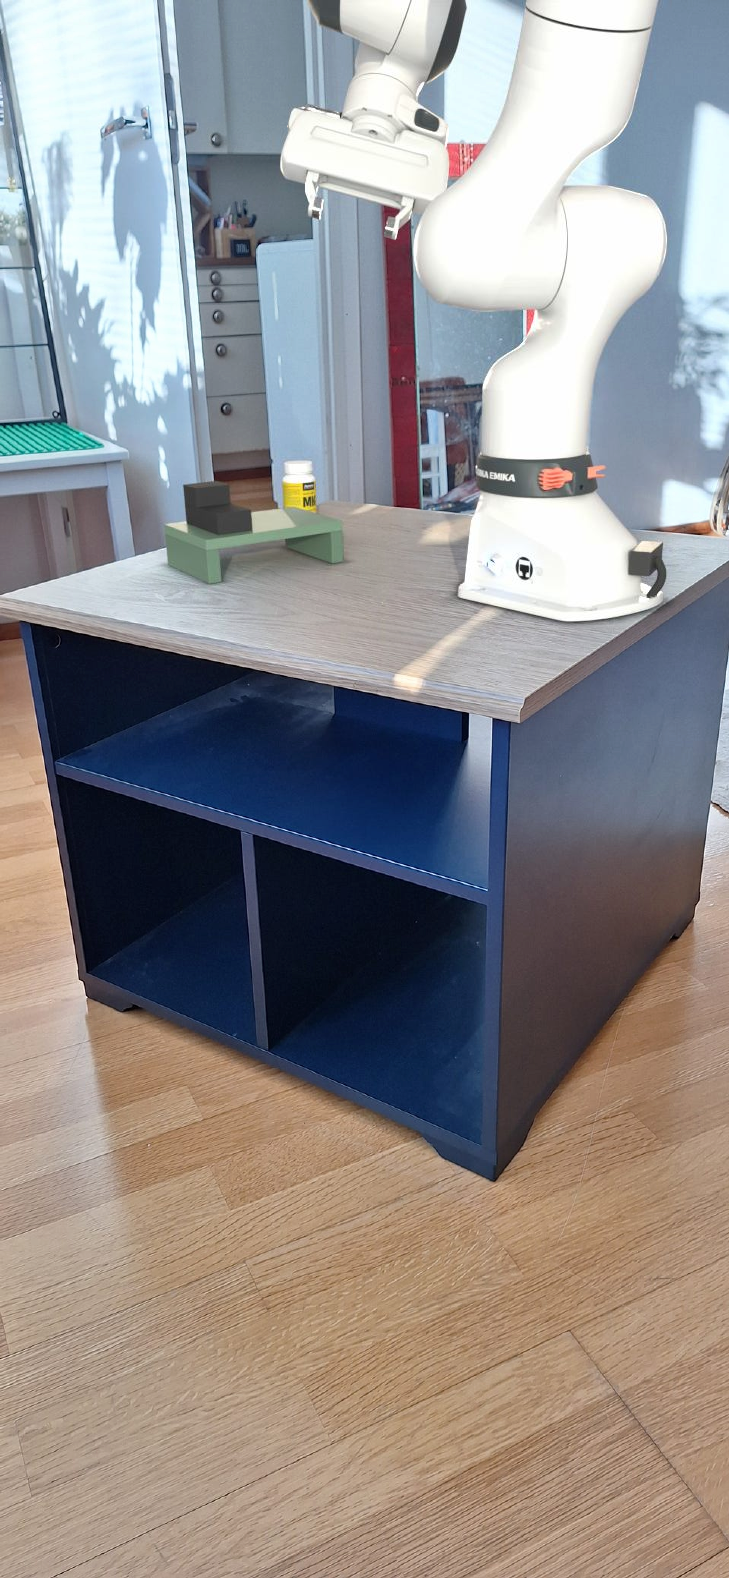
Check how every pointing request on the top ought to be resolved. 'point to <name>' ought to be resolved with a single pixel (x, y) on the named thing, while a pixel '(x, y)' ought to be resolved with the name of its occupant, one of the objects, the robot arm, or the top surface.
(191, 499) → the dark stepped block
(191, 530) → the block
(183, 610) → the top surface
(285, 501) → the supplement bottle
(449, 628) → the top surface
